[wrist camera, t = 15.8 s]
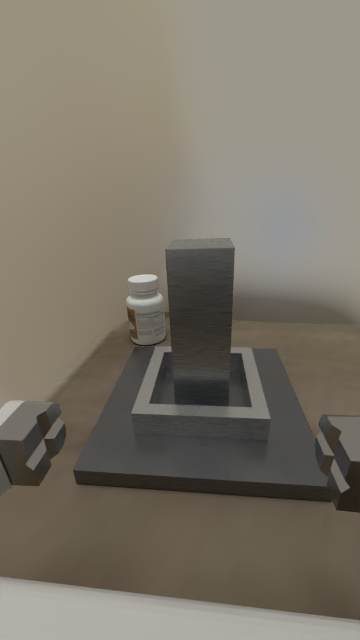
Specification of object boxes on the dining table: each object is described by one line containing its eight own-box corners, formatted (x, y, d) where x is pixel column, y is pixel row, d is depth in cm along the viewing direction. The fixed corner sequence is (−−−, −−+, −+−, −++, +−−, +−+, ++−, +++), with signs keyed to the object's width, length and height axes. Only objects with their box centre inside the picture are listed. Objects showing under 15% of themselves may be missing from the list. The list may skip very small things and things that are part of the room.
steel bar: (225, 379, 24) (229, 238, 19) (228, 411, 21) (234, 247, 16) (180, 378, 25) (173, 239, 20) (175, 409, 21) (165, 249, 16)
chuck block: (274, 358, 29) (277, 333, 28) (331, 501, 15) (341, 464, 14) (136, 356, 31) (133, 332, 30) (76, 483, 17) (66, 448, 16)
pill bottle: (131, 331, 37) (124, 274, 33) (164, 328, 37) (160, 272, 34) (130, 348, 33) (122, 284, 29) (167, 344, 33) (163, 281, 30)
